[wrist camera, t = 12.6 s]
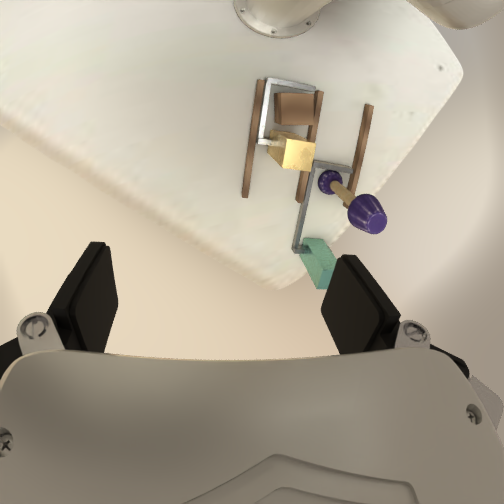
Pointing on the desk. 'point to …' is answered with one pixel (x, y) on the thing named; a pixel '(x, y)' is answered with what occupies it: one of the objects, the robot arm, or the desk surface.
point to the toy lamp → (355, 204)
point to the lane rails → (311, 136)
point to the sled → (286, 134)
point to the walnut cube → (294, 108)
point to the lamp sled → (316, 250)
